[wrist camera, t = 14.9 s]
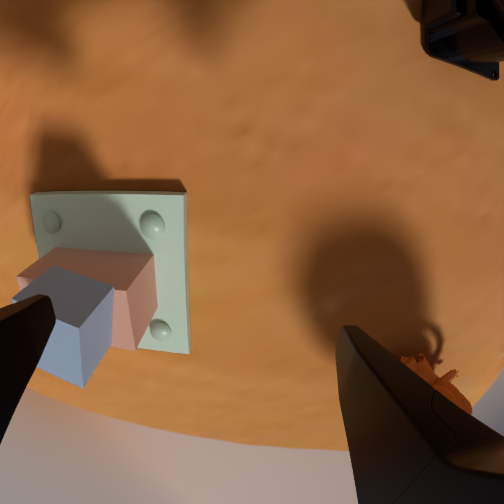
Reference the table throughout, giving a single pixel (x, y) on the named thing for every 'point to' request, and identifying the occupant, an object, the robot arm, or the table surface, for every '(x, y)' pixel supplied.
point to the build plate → (127, 245)
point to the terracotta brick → (114, 273)
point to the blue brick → (74, 322)
